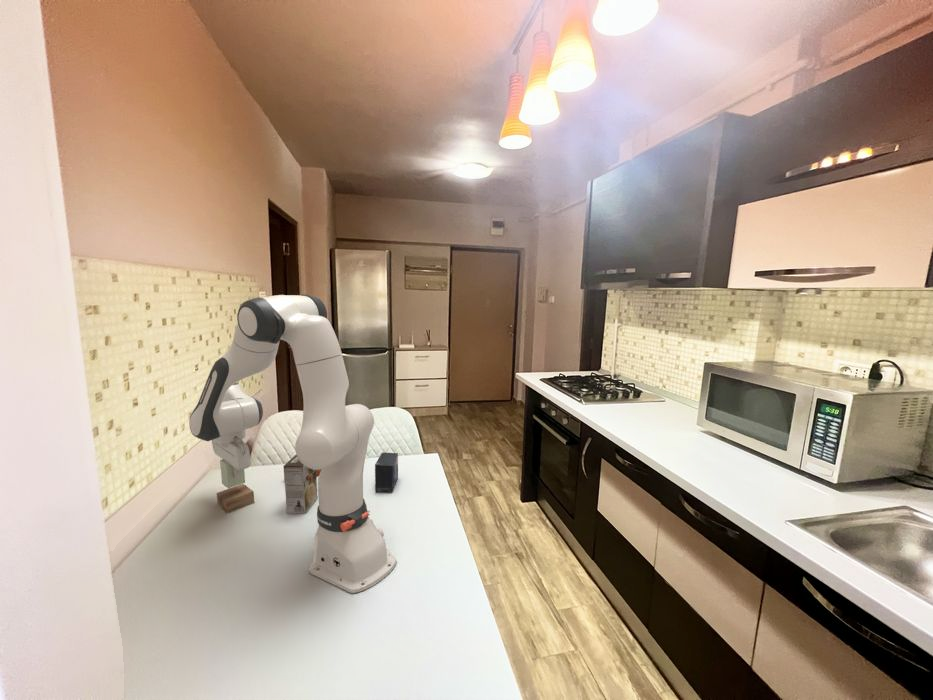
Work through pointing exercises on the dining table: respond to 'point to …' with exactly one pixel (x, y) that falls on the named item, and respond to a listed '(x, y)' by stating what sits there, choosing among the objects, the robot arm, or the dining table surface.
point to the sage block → (230, 475)
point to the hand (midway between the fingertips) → (233, 474)
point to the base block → (235, 498)
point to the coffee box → (299, 486)
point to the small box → (386, 472)
